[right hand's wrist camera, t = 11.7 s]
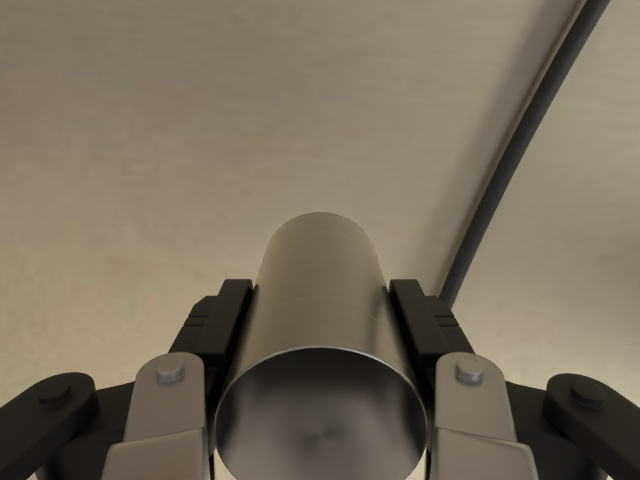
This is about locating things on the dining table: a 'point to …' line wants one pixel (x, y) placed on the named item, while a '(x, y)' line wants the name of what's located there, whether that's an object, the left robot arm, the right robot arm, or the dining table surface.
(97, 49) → the dining table surface
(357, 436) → the tin
